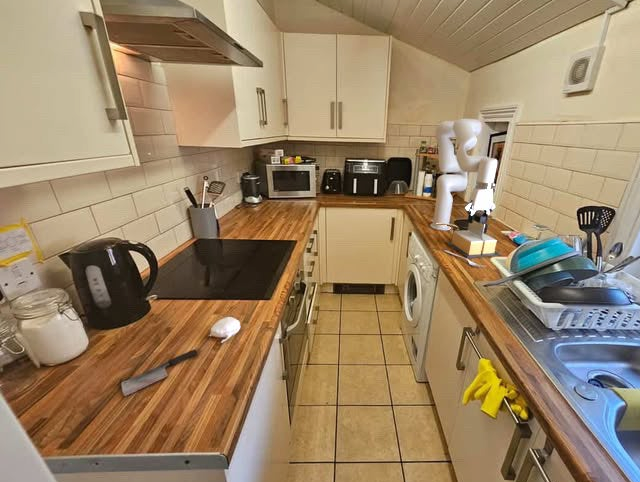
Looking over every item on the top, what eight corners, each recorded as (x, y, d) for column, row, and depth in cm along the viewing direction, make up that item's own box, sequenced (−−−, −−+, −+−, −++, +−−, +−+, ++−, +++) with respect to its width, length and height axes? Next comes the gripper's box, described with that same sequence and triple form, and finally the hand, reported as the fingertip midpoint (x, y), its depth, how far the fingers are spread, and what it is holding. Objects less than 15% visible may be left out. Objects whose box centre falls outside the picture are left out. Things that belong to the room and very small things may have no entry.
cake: (446, 243, 159) (448, 229, 156) (475, 241, 163) (478, 228, 160) (467, 258, 141) (469, 243, 138) (500, 255, 145) (503, 241, 142)
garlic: (221, 344, 82) (219, 333, 80) (205, 336, 85) (203, 325, 83) (244, 329, 88) (243, 318, 87) (229, 321, 91) (227, 311, 90)
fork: (446, 249, 150) (446, 246, 149) (486, 269, 131) (487, 265, 130) (441, 250, 149) (442, 247, 148) (481, 270, 129) (482, 266, 129)
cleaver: (122, 395, 65) (119, 381, 68) (124, 398, 65) (121, 385, 69) (201, 358, 75) (195, 348, 78) (202, 361, 75) (195, 351, 79)
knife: (465, 230, 154) (468, 211, 150) (470, 230, 155) (473, 211, 151) (479, 238, 143) (483, 218, 139) (484, 238, 144) (488, 218, 140)
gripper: (494, 184, 145) (487, 219, 152) (463, 184, 141) (457, 220, 148) (505, 187, 138) (497, 223, 145) (472, 187, 134) (465, 225, 141)
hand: (477, 222), depth 147 cm, fingers open, 7 cm apart
